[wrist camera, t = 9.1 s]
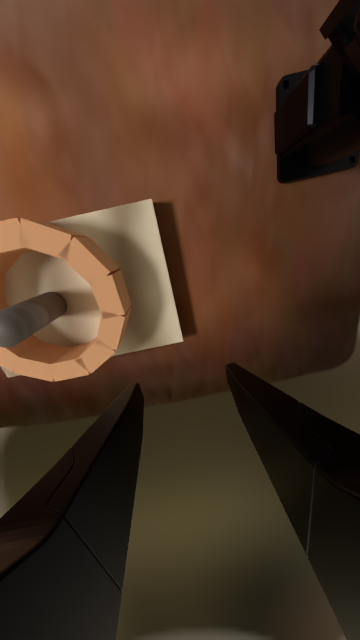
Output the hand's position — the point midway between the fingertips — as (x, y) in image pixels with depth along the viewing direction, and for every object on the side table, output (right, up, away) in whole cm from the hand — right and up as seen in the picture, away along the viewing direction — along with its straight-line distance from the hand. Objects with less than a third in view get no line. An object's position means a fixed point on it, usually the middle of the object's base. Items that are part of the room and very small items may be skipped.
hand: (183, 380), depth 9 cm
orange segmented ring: (-11, +4, +9) cm, 15 cm away
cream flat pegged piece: (-10, +5, +10) cm, 16 cm away
